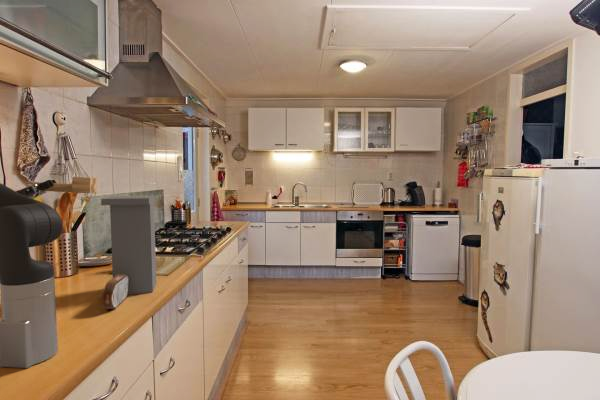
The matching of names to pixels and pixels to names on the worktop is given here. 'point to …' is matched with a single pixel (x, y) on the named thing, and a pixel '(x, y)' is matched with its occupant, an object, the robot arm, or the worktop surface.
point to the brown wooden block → (74, 186)
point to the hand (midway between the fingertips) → (53, 182)
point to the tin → (115, 291)
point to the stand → (133, 240)
